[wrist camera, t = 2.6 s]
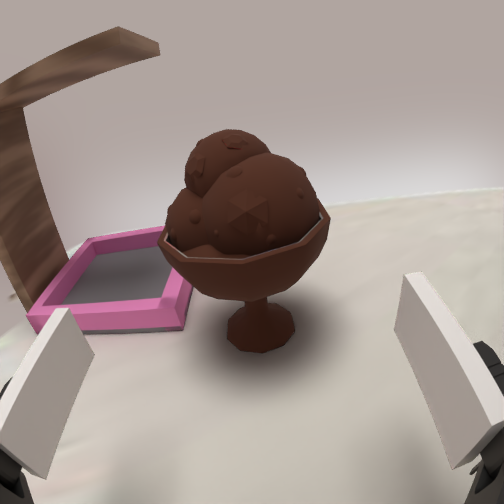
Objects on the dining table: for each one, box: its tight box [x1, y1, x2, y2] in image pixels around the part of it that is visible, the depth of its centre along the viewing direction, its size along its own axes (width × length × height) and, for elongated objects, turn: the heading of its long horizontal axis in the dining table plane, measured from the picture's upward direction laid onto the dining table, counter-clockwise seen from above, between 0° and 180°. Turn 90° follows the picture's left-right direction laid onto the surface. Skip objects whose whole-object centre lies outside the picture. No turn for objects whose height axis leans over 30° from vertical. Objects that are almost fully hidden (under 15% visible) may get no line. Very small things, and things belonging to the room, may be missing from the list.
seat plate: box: [26, 226, 193, 334], centre depth 33 cm, size 17×17×2 cm
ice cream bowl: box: [157, 129, 331, 353], centre depth 21 cm, size 11×11×15 cm
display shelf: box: [0, 27, 160, 313], centre depth 28 cm, size 20×11×24 cm, turn 90°
